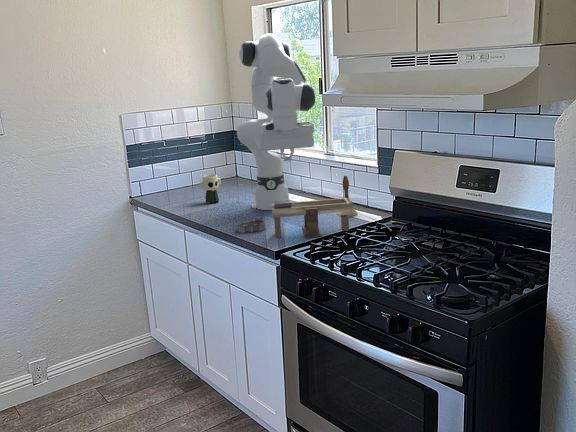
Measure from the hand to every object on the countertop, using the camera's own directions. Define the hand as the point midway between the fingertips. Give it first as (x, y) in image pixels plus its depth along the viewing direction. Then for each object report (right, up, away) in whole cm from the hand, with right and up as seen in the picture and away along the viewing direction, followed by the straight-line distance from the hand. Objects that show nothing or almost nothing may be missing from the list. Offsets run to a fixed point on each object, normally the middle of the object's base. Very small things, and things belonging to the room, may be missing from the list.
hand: (287, 160), depth 218 cm
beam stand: (+9, -27, -2) cm, 28 cm away
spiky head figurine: (-36, -15, +60) cm, 71 cm away
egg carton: (-14, -26, +8) cm, 31 cm away
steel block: (-2, -19, -4) cm, 20 cm away
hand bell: (+24, -20, +21) cm, 38 cm away
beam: (+8, -18, -4) cm, 20 cm away
